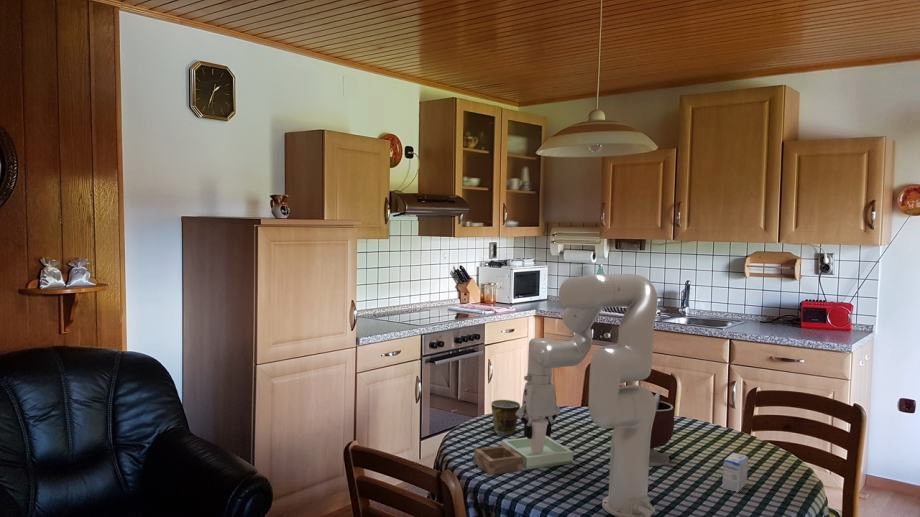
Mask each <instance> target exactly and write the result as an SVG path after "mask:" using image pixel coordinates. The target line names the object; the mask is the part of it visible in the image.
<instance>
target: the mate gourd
mask: <svg viewBox="0 0 920 517" xmlns="http://www.w3.org/2000/svg"><path fill="white" fill-rule="evenodd" d="M653 396H654V398H655V401H656V413H655V417H654V421H653V425H652V430H651V438H650V453H649V467H651V466H653V467H660V466H662V465H663V466H666V465H668V464H670V462H669V461H670V457H669V456H668V455H666V454H664V453H661V452H660V451H655V449H657V448H660V447H661V448H662V447H664V446H666V445H667V444H668V443H669V442H670V441H671V439H672V437H673V433H674V429H675V413H674V406H673V405H672V404H671V403H668V402H665V401H662V400H661V399H660V396H661V389H660V390H658V391H656V392H655V395H653Z"/></svg>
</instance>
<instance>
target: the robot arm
mask: <svg viewBox="0 0 920 517" xmlns="http://www.w3.org/2000/svg"><path fill="white" fill-rule="evenodd" d="M558 299H559V302H560V304H561V305H562V306H563V307H565V310H564V312H563V314H562V322H563V325H564V326H566V328H567V329H568V330H570V331H571V332H573V333H574V335H573V337H572V338H571V340H568V341H567V340H566V341H555V342H554V341H552V340H551V339H550V338H544V337H534V338H531V339H530V340H529V342H528V354H527V355H528V357H527V358H528V359H527V361H528V362H527V373H526V375H524V378H523V379H524V381H526V382H525V384H524V388H523V393H522V402H521V405H520V409H519V410H518V411H517V412H516V416H517V417H518V418H517V419H519V420H520V421H521V423H522V424H524V425H523V434H524V438H528V439H531V438H532V426H530V424H531V422H532V419H533V418H538V417H542V418H546V419H547V420H548V425H547V430H546V436H547V437H549V438H551V436H552V424H553V423H554V421H555V420H556V418H557V417H558V415H559V414H560V413H561V411H562V410H561V409H560V407H559V406H558V405H557V391H556V387H555V383H554V382H553V369H557V368H558V369H559V368H567V367H575V366H578V365H579V364H581V363H582V362H583V361H584V359H585V358H586V357H587V355H588V354H589V353H590V351H591V348H592V345H593V333H592V329H591V328H592V326H593V324H594V323H595V321H596V320H597V319H598V317H599V315H600V314H601V312H602V310H604V308H623V307H626V308H627V309H626V311H625V312H624V314H623V316H622V318H620V323H619V325H618V338H617V342H616V344H607V345H603V346H600V347H598V348H597V349H596V350H595V351H594V353H593V354H592V357H591V359H590V360H591V361H590V366H589V378H588V379H589V381H588V382H589V385H588V411H589V412H588V413H589V417H590V419H591V420H592V422H593V423H594V424H595V425H596V426H597V427H599V428H603V429H611V428H614V429H613V431H612V433H611V438H610V440H611V441H610V460H609V479H608V480H609V481H608V482H609V483H608V495H607V496H605V497H603V499H602V500H601V507H602V508H603V509H604V510H605V511H606V512H607V513H608V514H610V515H613V516H614V517H651V516H652V515H653V514H654V513H655V512H656V508H655V507H654V506H653V505H652V504H651V502H650V499H651V498H650V496H648V492H649V491H648V490H649V489H648V488H649V474H650V473H649V470H650V469H649V468H650V465H649V453H650V438H651V430H652V425H653V421H654V417H655V413H656V401H655V398H654V396H655V395H654V394H653V392H652V391H650V389H648V388H647V387H645V386H642V385H638V384H637V385H636V384H635V385H633V384H632V385H623V386H621V384H624V383H633V382H639V381H643V380H645V379H647V378H648V377H649V376H650V375H651V372H652V366H653V356H654V353H653V351H654V328H655V322H656V316H657V311H658V302H659V301H658V293H657V291H656V288H655V286H654V285H653V283H652V282H651V281H650V280H649V279H648V278H647V277H644V276H643V275H638V274H633V273H600V274H598V273H597V274H587V275H581V276H580V275H579V276H571V277H568V278H566V279H565V280H563V282H562V283H561V285H560V286H559V289H558ZM523 414H524V415H523Z"/></svg>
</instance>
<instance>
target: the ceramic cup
mask: <svg viewBox="0 0 920 517" xmlns="http://www.w3.org/2000/svg"><path fill="white" fill-rule="evenodd" d="M490 405H491V413H492V421H493V427H494V428H493V429H494V432H495V433H496V434H498V435H502V436H510V435H513V434H514V433H515V432H516V427H517V422H518V419H519V418H518V417H517V416H516V412H517V411H518V410H519V409H520V407H521V403H520V402H518V401H516V400H510V399H496V400H493V401H492V402H490Z"/></svg>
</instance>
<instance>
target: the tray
mask: <svg viewBox="0 0 920 517" xmlns="http://www.w3.org/2000/svg"><path fill="white" fill-rule="evenodd" d="M505 445H506V446H507V447H509V448H510V449H512V450H513V451H515V452H516V453H517V454H519V455H520V456H522V457H523V463H522V468H524V469H525V470H532V469H541V468H548V467H555V466H560V465H561V466H562V465H569V464H573V463H574V451H573V450H572V449H569V448H568V447H566V446H564V445H563V444H561V443H559V442H557V441H556V440H554V439H552V438H551V437H548V436H545V442H544V448H543V452H541V453H535V452H532V451H531V445H530V439H528V438H527V437H521V438H520V437H519V438H512V439H503V440H501V446H505Z"/></svg>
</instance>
